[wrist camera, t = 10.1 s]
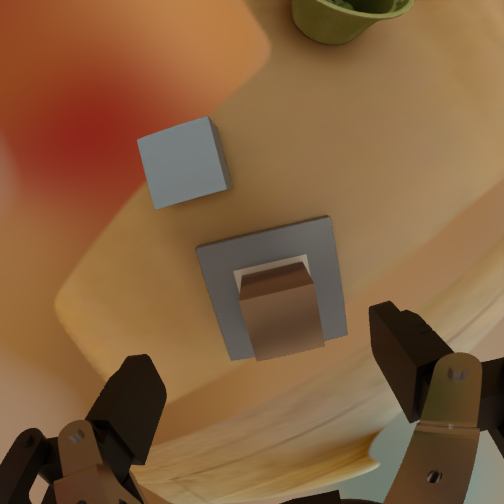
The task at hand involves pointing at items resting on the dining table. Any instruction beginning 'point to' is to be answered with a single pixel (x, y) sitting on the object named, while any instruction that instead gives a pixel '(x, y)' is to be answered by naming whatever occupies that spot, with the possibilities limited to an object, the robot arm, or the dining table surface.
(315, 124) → the dining table surface
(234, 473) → the dining table surface
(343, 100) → the dining table surface
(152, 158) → the blue block
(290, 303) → the walnut block
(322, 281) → the plate
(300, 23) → the plant pot
